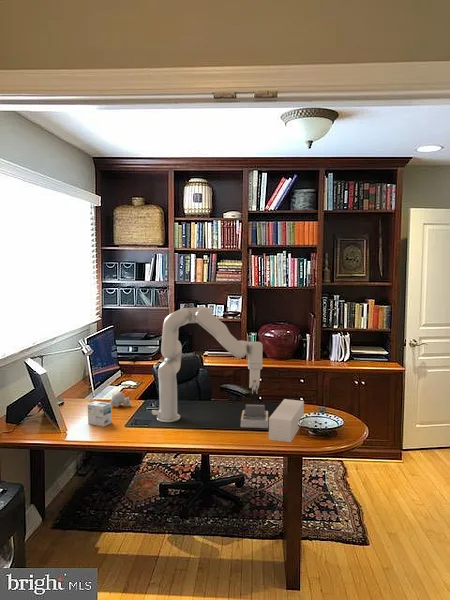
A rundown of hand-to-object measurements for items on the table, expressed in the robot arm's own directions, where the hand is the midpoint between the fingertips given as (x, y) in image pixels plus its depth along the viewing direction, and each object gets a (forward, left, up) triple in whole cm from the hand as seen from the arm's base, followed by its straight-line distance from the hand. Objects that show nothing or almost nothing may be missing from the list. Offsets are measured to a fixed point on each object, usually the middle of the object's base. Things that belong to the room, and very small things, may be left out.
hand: (254, 398), depth 246 cm
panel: (0, 0, -12) cm, 12 cm away
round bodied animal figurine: (-79, +19, -13) cm, 82 cm away
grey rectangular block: (+17, -8, -13) cm, 23 cm away
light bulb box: (-80, -10, -13) cm, 82 cm away
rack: (0, 0, -13) cm, 13 cm away
